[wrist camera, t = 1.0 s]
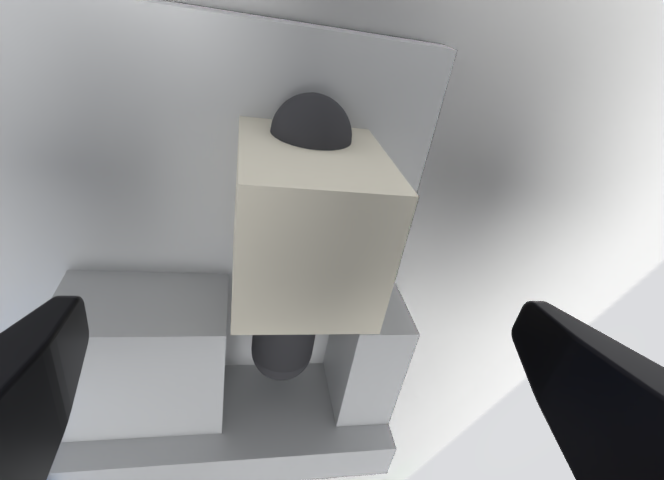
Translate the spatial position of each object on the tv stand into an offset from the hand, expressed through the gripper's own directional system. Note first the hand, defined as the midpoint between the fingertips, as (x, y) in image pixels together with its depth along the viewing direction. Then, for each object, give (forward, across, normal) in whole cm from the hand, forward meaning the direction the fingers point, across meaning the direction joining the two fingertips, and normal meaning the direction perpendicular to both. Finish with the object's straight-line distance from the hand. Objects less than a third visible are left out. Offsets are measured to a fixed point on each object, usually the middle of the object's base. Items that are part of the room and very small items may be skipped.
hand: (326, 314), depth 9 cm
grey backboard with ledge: (+7, +5, +2) cm, 9 cm away
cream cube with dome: (+6, 0, +2) cm, 6 cm away
